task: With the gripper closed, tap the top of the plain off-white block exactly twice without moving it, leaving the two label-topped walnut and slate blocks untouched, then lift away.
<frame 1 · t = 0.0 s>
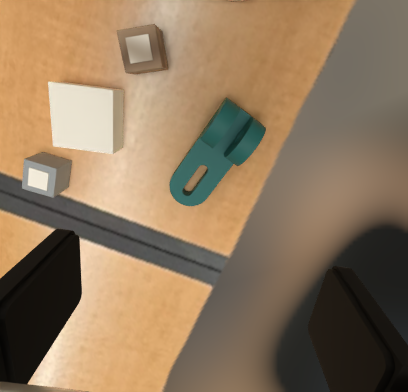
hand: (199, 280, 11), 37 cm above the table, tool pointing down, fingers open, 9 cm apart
walnut block: (148, 53, 41), on the table
plain block: (95, 115, 45), on the table
slate block: (56, 169, 48), on the table
bracket: (210, 156, 47), on the table
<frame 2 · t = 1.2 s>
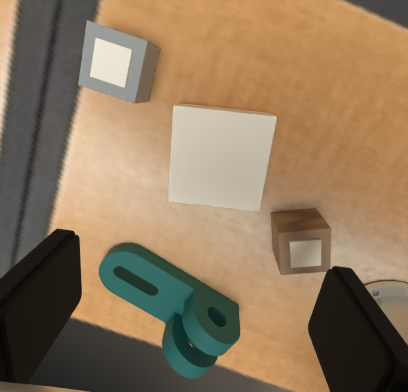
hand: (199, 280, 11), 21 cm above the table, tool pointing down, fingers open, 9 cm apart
walnut block: (293, 229, 33), on the table
plain block: (219, 150, 30), on the table
slate block: (130, 68, 28), on the table
bracket: (168, 285, 37), on the table
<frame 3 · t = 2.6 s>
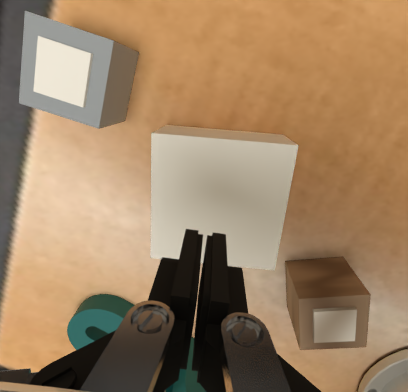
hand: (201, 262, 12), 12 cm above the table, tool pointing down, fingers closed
walnut block: (313, 281, 26), on the table
plain block: (218, 184, 23), on the table
slate block: (99, 77, 21), on the table
bracket: (157, 342, 30), on the table
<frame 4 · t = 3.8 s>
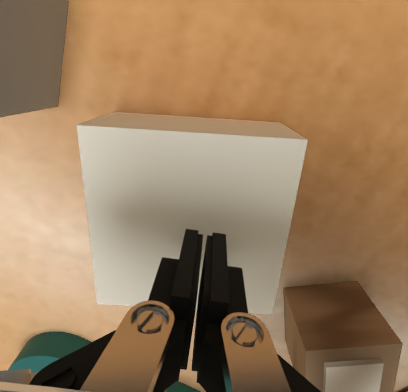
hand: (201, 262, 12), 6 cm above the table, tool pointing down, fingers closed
walnut block: (318, 311, 20), on the table
plain block: (194, 191, 17), on the table
slate block: (13, 41, 14), on the table
bracket: (126, 383, 25), on the table
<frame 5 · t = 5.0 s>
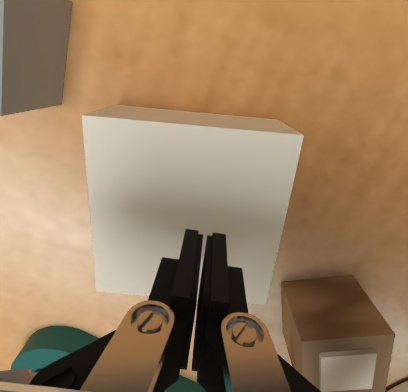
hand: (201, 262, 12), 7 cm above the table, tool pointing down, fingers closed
walnut block: (315, 304, 21), on the table
plain block: (192, 185, 18), on the table
slate block: (19, 41, 15), on the table
bracket: (128, 376, 25), on the table
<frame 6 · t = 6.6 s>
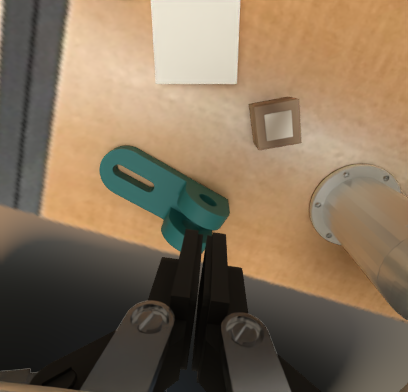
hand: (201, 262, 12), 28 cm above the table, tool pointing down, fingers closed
walnut block: (269, 120, 37), on the table
plain block: (197, 43, 34), on the table
bracket: (163, 187, 41), on the table
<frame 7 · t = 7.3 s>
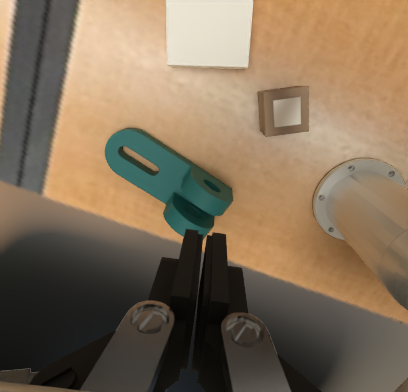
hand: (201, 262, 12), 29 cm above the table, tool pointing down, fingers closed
walnut block: (277, 108, 37), on the table
plain block: (210, 27, 34), on the table
bracket: (168, 172, 41), on the table
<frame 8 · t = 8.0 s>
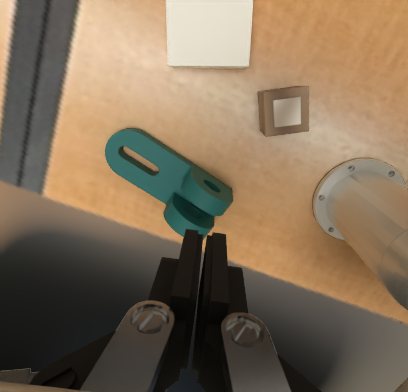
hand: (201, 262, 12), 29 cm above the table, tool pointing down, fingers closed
walnut block: (277, 108, 37), on the table
plain block: (210, 27, 34), on the table
bracket: (168, 172, 41), on the table
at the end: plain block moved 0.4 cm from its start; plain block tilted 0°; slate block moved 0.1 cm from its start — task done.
